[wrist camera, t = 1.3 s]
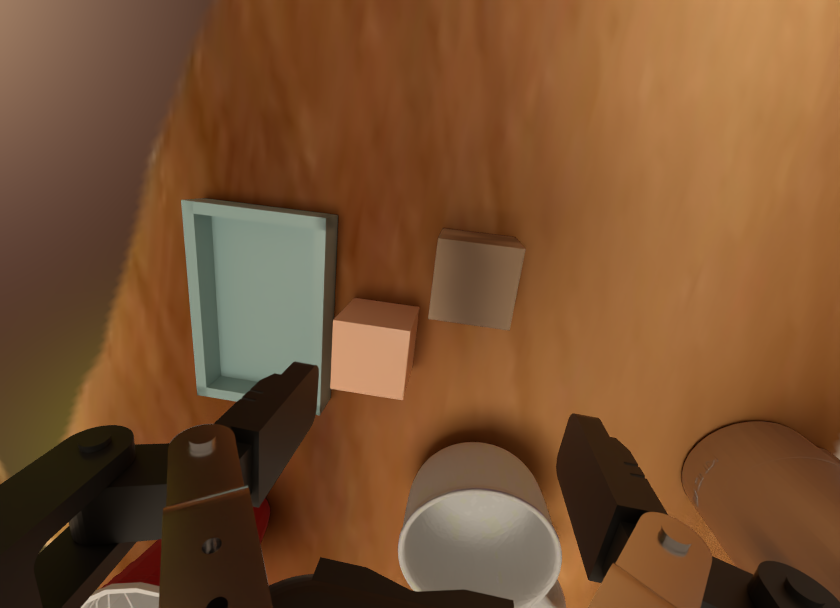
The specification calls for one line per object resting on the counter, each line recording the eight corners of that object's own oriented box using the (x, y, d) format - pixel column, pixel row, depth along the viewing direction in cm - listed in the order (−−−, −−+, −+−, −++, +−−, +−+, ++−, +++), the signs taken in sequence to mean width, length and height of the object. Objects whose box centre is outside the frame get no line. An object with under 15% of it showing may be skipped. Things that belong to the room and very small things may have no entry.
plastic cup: (277, 565, 39) (200, 724, 28) (179, 519, 39) (60, 661, 27) (315, 492, 35) (243, 638, 24) (207, 440, 35) (83, 565, 24)
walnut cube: (515, 236, 27) (525, 249, 22) (502, 305, 28) (509, 330, 23) (443, 227, 27) (438, 238, 22) (434, 295, 29) (428, 318, 24)
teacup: (388, 457, 33) (365, 538, 26) (495, 398, 30) (505, 471, 23) (477, 565, 36) (480, 667, 28) (585, 520, 33) (620, 621, 25)
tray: (338, 215, 27) (326, 218, 25) (330, 397, 32) (319, 415, 30) (205, 198, 28) (181, 199, 26) (216, 379, 33) (197, 394, 31)
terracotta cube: (419, 306, 29) (410, 331, 24) (412, 366, 31) (402, 400, 26) (354, 297, 29) (333, 320, 25) (351, 356, 31) (330, 388, 26)
